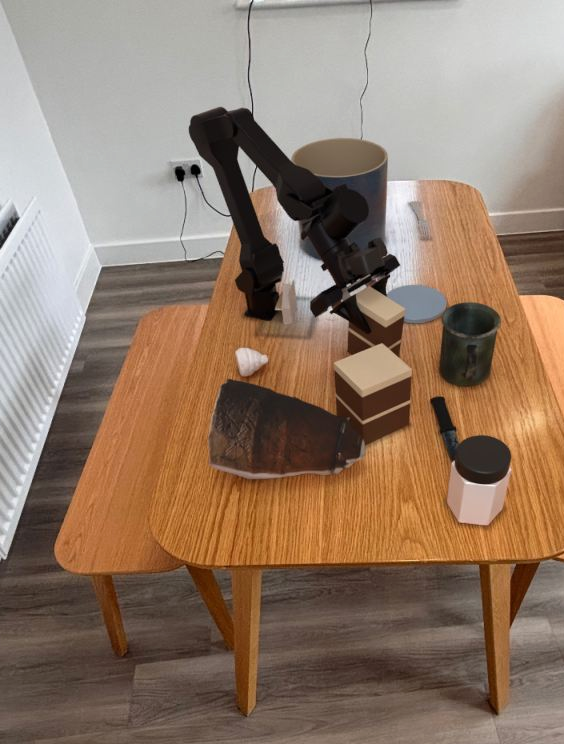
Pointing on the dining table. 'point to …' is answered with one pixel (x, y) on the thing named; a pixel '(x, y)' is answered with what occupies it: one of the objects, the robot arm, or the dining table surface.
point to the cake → (373, 392)
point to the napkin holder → (287, 303)
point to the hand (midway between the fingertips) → (379, 327)
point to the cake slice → (377, 323)
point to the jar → (479, 479)
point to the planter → (350, 181)
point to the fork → (420, 219)
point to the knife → (446, 425)
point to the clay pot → (277, 435)
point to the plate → (419, 302)
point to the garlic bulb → (249, 361)
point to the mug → (468, 343)
